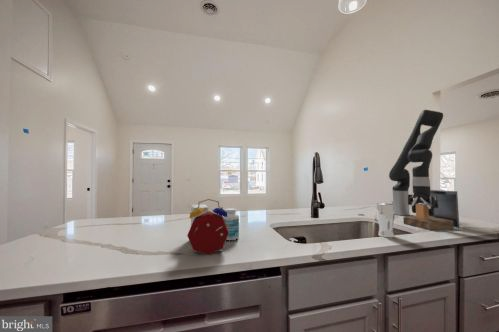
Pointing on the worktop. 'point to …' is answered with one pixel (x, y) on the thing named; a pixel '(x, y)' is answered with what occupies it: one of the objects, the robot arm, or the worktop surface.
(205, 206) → the skincare box
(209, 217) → the alarm clock
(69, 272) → the worktop surface
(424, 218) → the peg
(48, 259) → the worktop surface
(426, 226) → the socket block
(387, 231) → the beer glass
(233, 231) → the pill bottle
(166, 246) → the worktop surface
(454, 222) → the thin grey panel
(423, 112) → the robot arm
